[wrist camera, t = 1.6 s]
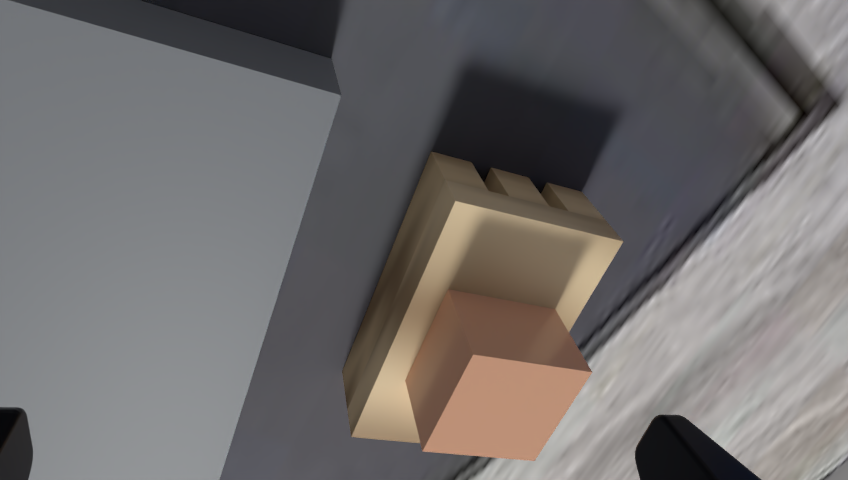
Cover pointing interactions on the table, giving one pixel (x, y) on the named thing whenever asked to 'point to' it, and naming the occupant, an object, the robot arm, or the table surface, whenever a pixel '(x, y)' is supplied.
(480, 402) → the block
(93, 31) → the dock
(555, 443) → the table surface
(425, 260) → the tray
